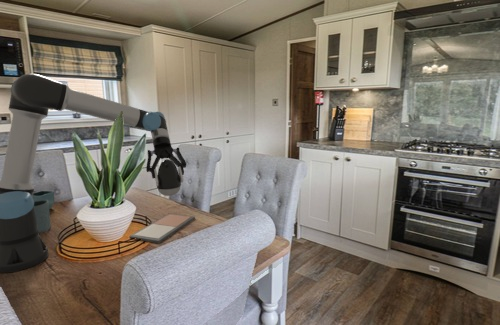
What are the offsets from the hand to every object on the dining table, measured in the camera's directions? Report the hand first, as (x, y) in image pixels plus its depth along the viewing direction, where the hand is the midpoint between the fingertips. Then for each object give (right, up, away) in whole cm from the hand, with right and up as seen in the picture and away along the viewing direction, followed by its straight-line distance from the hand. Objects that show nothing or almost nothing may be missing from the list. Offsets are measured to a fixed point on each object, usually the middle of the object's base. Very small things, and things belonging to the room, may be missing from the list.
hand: (170, 182), depth 128 cm
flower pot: (-73, -16, +30) cm, 81 cm away
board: (-3, -19, +2) cm, 20 cm away
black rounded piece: (-1, -6, +4) cm, 7 cm away
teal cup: (-58, -21, +4) cm, 62 cm away
